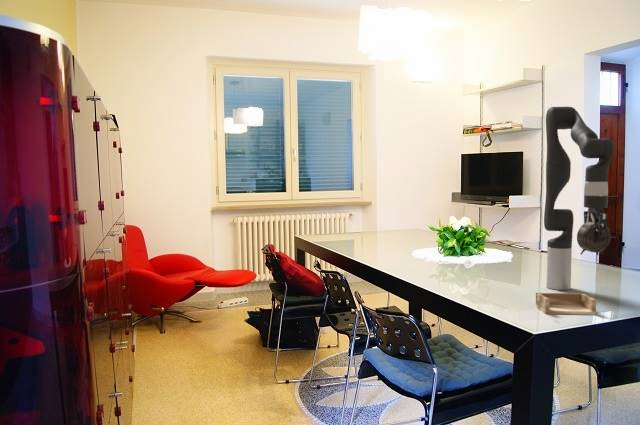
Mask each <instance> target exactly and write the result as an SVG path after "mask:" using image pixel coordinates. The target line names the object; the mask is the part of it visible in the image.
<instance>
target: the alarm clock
mask: <svg viewBox="0 0 640 425" xmlns="http://www.w3.org/2000/svg"><path fill="white" fill-rule="evenodd" d="M592 213H593V212H592ZM603 227H604V225H603ZM595 232H596V231H595V226H594V225H593V222H590V221H589V222H586V223H584V222H583V224H582V225H581V226H580V227H579V229H578V231H577V234H576V242H577V244H578V246H579V247H580V248H581V249H582V250H581V252H580V255H583V254H584V252H585V251H587V252H591V253H596V255H597V256H599V253H600V254H601V255H603V254H604V252H603V251H604V250H605V249H606V248H607V247H609V245H610V242H611V238H612V237H611V235H612V234H611V230H610V228H609V227H608V226H607V229H606V230H604V232H603V238H602V242H595Z"/></svg>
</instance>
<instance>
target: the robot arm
mask: <svg viewBox="0 0 640 425" xmlns="http://www.w3.org/2000/svg"><path fill="white" fill-rule="evenodd" d="M558 130H570V137H571V139H572V141H573V143H575V145H577V147H578V148H579V151H580V154H581V156H582V157H584V158H586V159H598V161H597V163H595V164H591V165H587V166H586V168H585V180H584V181H585V182H584V189H583V207H584V208H588V209H587V211H586V210H585V211H583V224H584V223H586V222H589V221H590V222H593V225H594V226H595V231H596V232H595V242H602V238H603V232H604V230H606V229H607V227H608V218H609V214H608V213H604V209H606V208H608V206H609V205H608V203H609V183H608V179H609V178H608V177H609V176H608V174H609V173H608V171H609V168H610V164H611V161H612V158H613V155H614V152H615V144H614V142H613V141H612V139H610V138H605V137H604V138H599V137H598V134H597V133H596V131H594V130H592V128H590V127H589V126H588V125H587V124H586V123H585V121H584V120H583V118H582V117H581V115H580V114H579V112H578V111H577V109H576V108H575V107H572V106H551V107H549V108H548V109H547V110H546V114H545V131H546V132H545V133H546V134H545V135H546V162H545V163H546V164H545V200H544V201H545V202H544V203H545V204H544V214H543V215H544V216H543V225H544V229H545V231H548V232H561V234H560V235H558V236H556V237H554V238H550V239H548V240H547V243H546V244H547V247H546V248H547V251H546V252H547V253H546V254H547V255H546V256H547V257H546V288H548V289H550V290H555V291H556V290H558V291H559V290H560V291H568V290H569V291H570V290H571V289H572V259H573V258H572V255H573V254H572V250H573V248H572V246H573V232H574V231H573V230H574V212H573V211H572V210H571V209H569V208H566V209H565V208H555V204H556V202H557V199H558V197H559V195H560V193H561V192H562V191H563V189H564V188H565V187H566V186H567V184H568V183H569V181H570V179H571V172H572V171H571V170H572V169H571V168H572V167H571V165H572V164H571V159H570V156H569V155H568V153H567V152H566V150H565V149H564V147H563V146H562V143H561V142H560V139H559V138H560V137H559V132H558ZM592 212H593V213H592ZM603 225H604V227H603Z"/></svg>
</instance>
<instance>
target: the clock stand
mask: <svg viewBox="0 0 640 425" xmlns="http://www.w3.org/2000/svg"><path fill="white" fill-rule="evenodd" d="M535 308H537V309H539V310H540V311H542V313H544V314H545V315H590V316H591V315H592V316H593V315H596V314H597V299H595V298H593V297H591V296H589V295H588V294H585V293H584V292H583V293H582V292H581V293H580V292H579V293H577V292H575V293H574V292H573V293H572V292H536V293H535Z"/></svg>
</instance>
